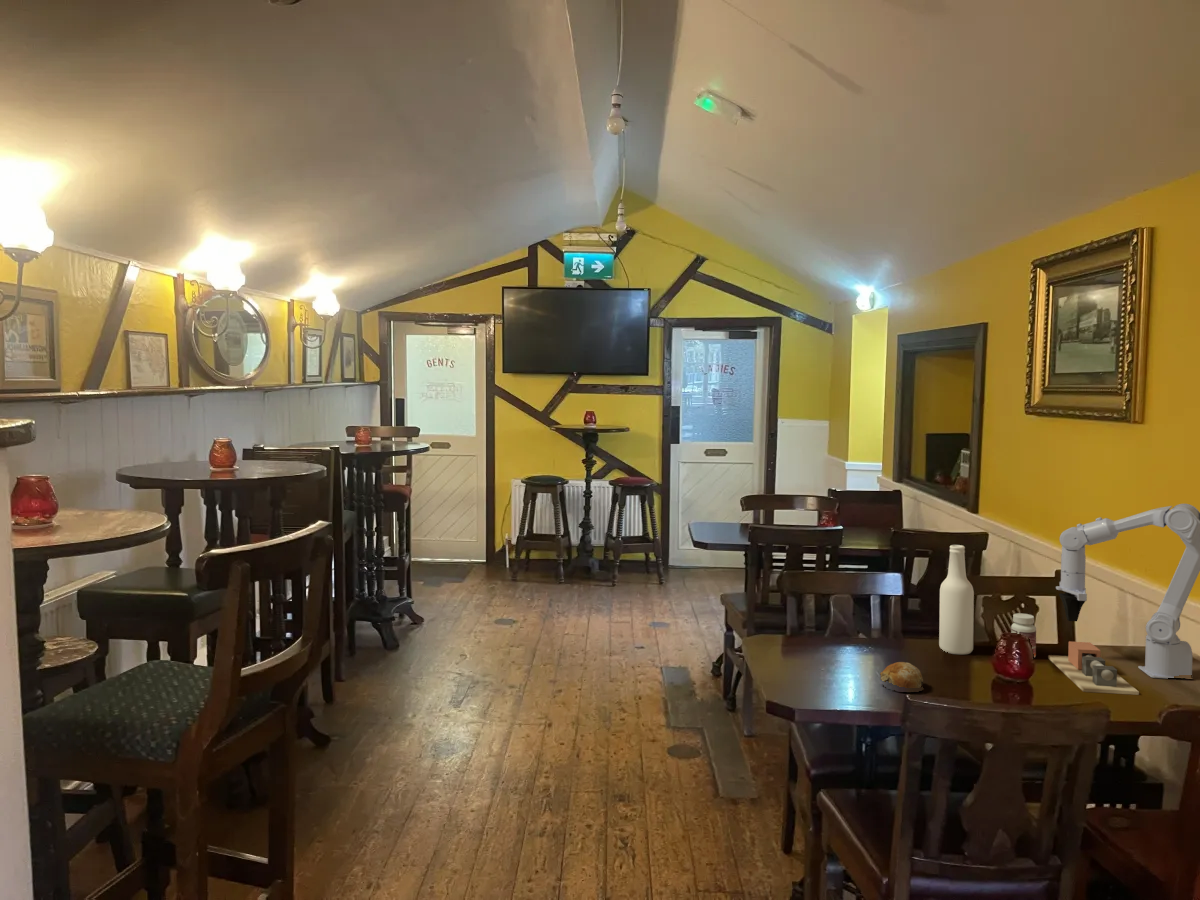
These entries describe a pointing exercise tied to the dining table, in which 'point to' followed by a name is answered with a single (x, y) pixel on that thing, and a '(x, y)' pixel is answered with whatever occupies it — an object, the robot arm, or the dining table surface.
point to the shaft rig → (1094, 675)
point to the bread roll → (902, 675)
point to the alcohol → (956, 606)
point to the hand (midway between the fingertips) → (1072, 620)
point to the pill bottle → (1025, 628)
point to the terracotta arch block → (1078, 649)
